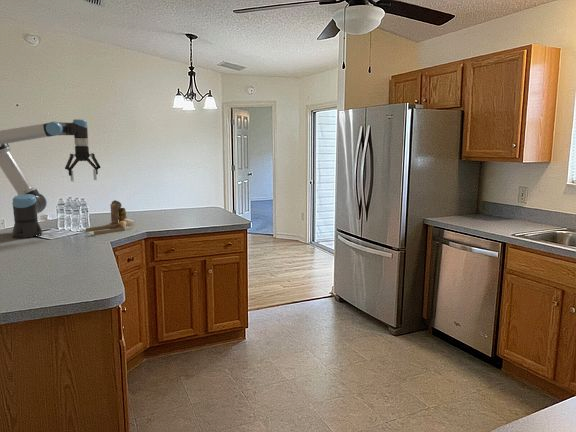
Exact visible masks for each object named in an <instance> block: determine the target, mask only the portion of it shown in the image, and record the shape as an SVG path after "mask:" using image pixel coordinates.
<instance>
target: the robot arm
mask: <svg viewBox="0 0 576 432" xmlns="http://www.w3.org/2000/svg"><path fill="white" fill-rule="evenodd" d="M88 132H89V131H88V122H87V120H86V119H80V118H79V119H78V118H77V119H73V120H72V122H58V121H49V122H45V123H40V124H39V123H38V124H33V125H27V126H18V127H13V128H8V129H7V128H6V129H0V170H2V172H3V174H4V175H5V176H6V178H7V180H8V181H9V183H10V184H11V186H12V187H13V188H14V190H15V192H16V193H17V194H16V195H15V196H14V197H13V198H12V203H11V204H12V209H13V221H14V224H13V228H12V231H11V234H12V236H11V237H12V238H14V239H28V238H27V237H31V238H34V237H33V236H36V235H39V234H42V235H43V230H42V228H41V225H40V223H39V221H38V219H39V218H38V214H40V213H42V212H43V211H44V210H45V209H46V207H47V205H48V204H47V203H48V201H47V198H46V197H45V195H43V194H42V193H40V192H39V191H38V189H37V188H36V187H33V186H32V185H31V183H30V182H29V181H30V180H28V178H27V177H26V175H25V173H24V172H23V171H22V169H21V167H20V165H19V164H18V162H16V161H17V160H15V158H14V156H13V155H12V153H11V151H10V150H11V147H10V145H9V144H12V143H19V142H24V141H31V140H36V139H42V138H43V139H44V138H48V137H50V138H51V137H55V136H73V137H74V151H75V152H74V153H69V157H68V160H67V162H66V165H65V166H64V169H65V170H67V171H68V176H70V181H71V182H74V170H73V169H74V168H75V166H76V165H77V163H79V162H87V163H88V164H89V165H90V166H91V167H92V169H93V170H92V172H93V173H92V174H93V180H94V181H97V175H98V174H99V171H98V170H99V169H101V165H100V163H99V161H98V159H97V158H96V156H95V153H93V152H92V153H90V150H89V149H90V148H89V134H88ZM74 158H75V159H74ZM90 158H91V159H92V160H91V159H90ZM73 159H74V161H73ZM72 161H73V162H72ZM92 161H93V162H92Z"/></svg>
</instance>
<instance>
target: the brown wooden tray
mask: <svg viewBox="0 0 576 432" xmlns="http://www.w3.org/2000/svg"><path fill="white" fill-rule="evenodd" d="M124 220H125V222H123V228H116V229H110V225H109V224H107V225H101V226H94V227H93V226H92V227H86V228H85V232H86V233H89V234H91V235H93V236H95V237H98V236H105V235H111V234H118V233H119V234H121V233H125V232H126V233H127V232H132V231H133V232H138V229H136V223H135V222H136V221H135V220H133V219H129V218H127V219H124ZM118 223H119V220H118ZM126 223H127V227H126Z"/></svg>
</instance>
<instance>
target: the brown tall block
mask: <svg viewBox="0 0 576 432" xmlns="http://www.w3.org/2000/svg"><path fill="white" fill-rule="evenodd" d="M110 216H111V219H110V221H111V222H109V223H108V225H110V229H116V228H121V224H119V223H118V205H117V204H112V203H111V204H110Z"/></svg>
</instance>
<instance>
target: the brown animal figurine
mask: <svg viewBox="0 0 576 432" xmlns="http://www.w3.org/2000/svg"><path fill="white" fill-rule="evenodd" d="M111 204H117V205H118V220H119V222H120V221H125V220H124V219H128V218H127V217H128V216H127V211H126V208H125V207H122V202H120V201H118V200H112V202H111Z"/></svg>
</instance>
